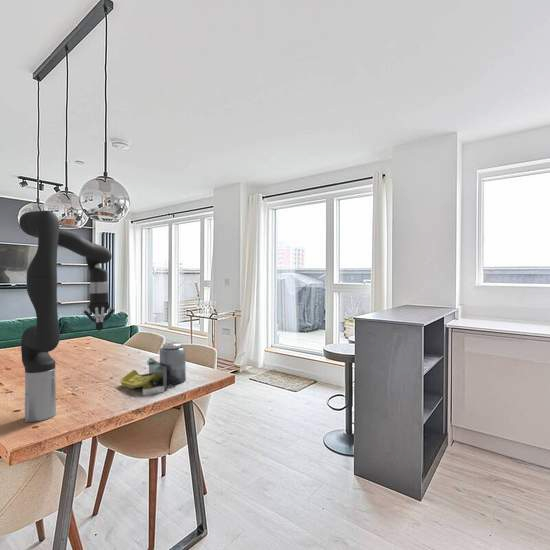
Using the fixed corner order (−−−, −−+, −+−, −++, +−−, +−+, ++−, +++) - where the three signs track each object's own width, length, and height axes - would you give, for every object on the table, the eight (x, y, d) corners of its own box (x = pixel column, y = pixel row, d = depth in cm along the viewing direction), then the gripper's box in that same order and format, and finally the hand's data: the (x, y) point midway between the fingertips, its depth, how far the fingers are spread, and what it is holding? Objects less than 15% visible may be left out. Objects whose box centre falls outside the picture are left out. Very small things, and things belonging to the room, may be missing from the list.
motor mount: (143, 396, 145) (142, 353, 145) (129, 381, 166) (129, 344, 166) (194, 385, 158) (194, 346, 158) (176, 373, 179) (175, 338, 179)
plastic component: (118, 381, 159) (136, 367, 166) (125, 393, 161) (143, 379, 168) (138, 386, 146) (156, 371, 153) (146, 400, 148) (164, 384, 155)
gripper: (83, 292, 146) (83, 333, 146) (116, 291, 154) (116, 330, 154) (81, 292, 153) (81, 330, 152) (113, 291, 160) (113, 328, 160)
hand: (99, 330), depth 153 cm, fingers closed
